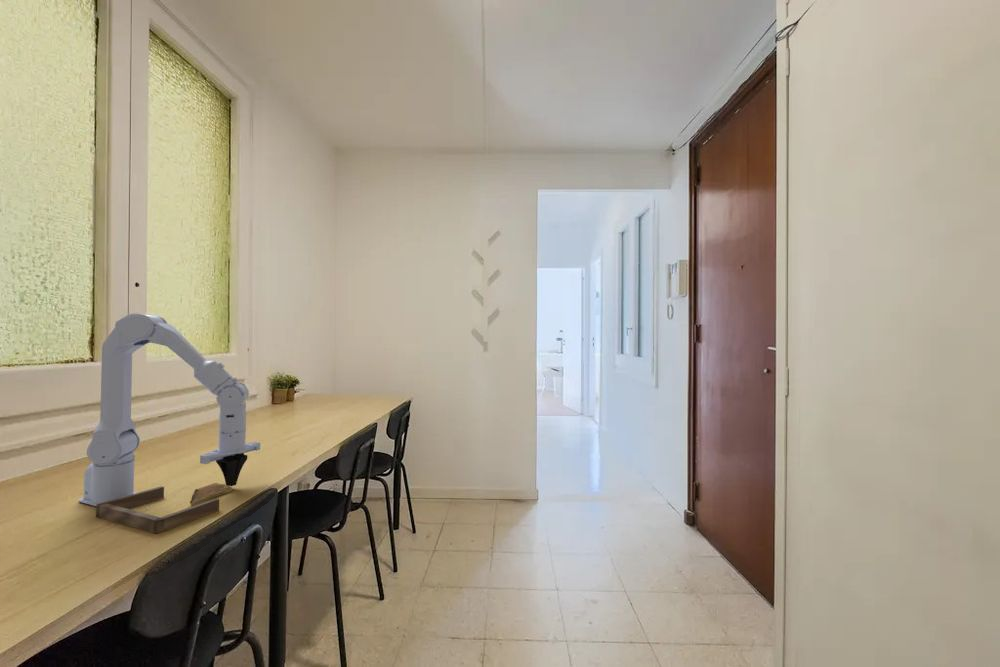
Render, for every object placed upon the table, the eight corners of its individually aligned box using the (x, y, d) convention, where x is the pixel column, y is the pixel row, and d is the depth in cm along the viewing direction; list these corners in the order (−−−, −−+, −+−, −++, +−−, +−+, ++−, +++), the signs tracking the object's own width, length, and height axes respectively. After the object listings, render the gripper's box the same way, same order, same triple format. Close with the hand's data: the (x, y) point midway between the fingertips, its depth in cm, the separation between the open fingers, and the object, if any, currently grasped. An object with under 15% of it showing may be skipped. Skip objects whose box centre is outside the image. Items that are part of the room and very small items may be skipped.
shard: (189, 509, 94) (189, 501, 94) (166, 504, 96) (166, 496, 96) (233, 492, 104) (234, 485, 104) (211, 489, 107) (211, 481, 107)
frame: (96, 516, 88) (96, 504, 88) (160, 496, 100) (160, 486, 100) (156, 533, 81) (157, 520, 81) (219, 510, 92) (219, 499, 92)
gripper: (214, 438, 98) (213, 497, 97) (269, 427, 111) (267, 478, 111) (194, 435, 100) (193, 492, 100) (250, 424, 114) (248, 474, 113)
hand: (231, 484), depth 105 cm, fingers closed
